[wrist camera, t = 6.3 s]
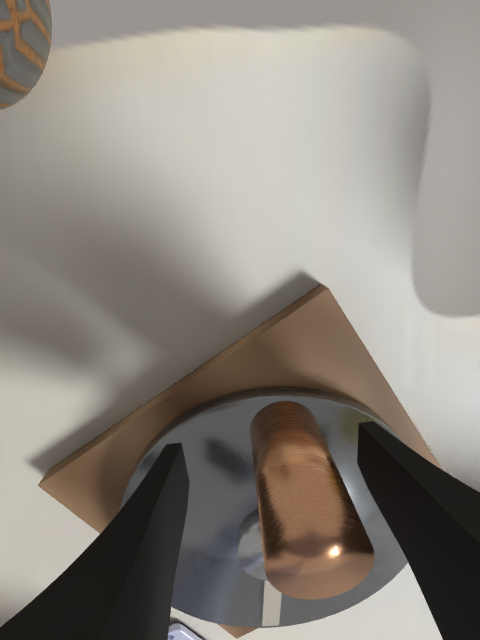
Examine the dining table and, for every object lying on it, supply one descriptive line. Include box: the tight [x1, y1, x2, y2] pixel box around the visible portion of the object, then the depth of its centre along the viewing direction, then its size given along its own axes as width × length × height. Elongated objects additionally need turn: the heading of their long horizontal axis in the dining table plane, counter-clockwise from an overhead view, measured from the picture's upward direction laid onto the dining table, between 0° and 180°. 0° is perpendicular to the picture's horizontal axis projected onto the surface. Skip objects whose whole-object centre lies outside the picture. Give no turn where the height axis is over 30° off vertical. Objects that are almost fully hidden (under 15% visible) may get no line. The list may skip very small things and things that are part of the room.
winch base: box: [38, 284, 442, 639], centre depth 17 cm, size 18×18×1 cm
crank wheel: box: [120, 386, 408, 628], centre depth 13 cm, size 16×16×7 cm
